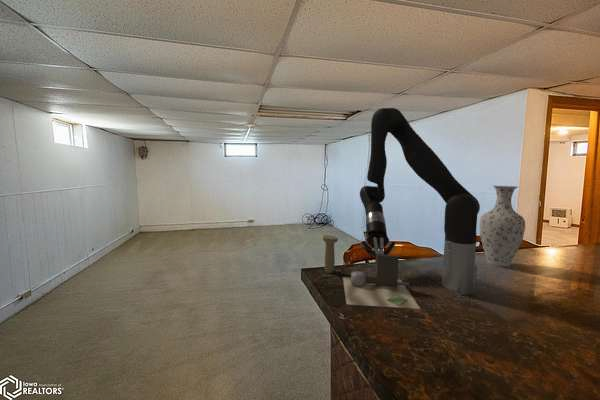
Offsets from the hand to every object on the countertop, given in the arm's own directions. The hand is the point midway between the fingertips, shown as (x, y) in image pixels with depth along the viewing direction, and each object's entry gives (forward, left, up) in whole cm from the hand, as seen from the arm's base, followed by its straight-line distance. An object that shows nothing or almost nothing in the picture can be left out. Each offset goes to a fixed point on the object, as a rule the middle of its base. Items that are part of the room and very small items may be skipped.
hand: (380, 265), depth 96 cm
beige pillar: (+18, -7, -7) cm, 21 cm away
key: (+1, +4, -5) cm, 7 cm away
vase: (-57, -29, -7) cm, 64 cm away
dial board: (+3, +9, -7) cm, 11 cm away
